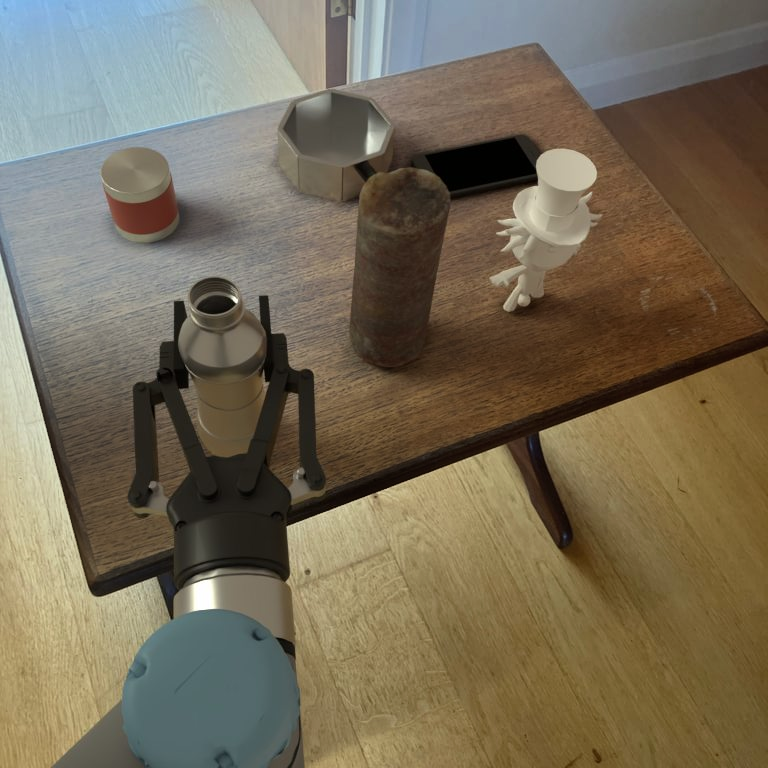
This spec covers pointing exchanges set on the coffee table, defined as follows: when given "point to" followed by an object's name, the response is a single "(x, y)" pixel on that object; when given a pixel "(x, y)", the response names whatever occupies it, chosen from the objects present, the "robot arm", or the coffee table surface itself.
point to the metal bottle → (224, 364)
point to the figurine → (547, 222)
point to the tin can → (140, 194)
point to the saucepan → (334, 143)
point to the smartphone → (482, 164)
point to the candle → (396, 263)
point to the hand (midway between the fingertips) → (223, 309)
